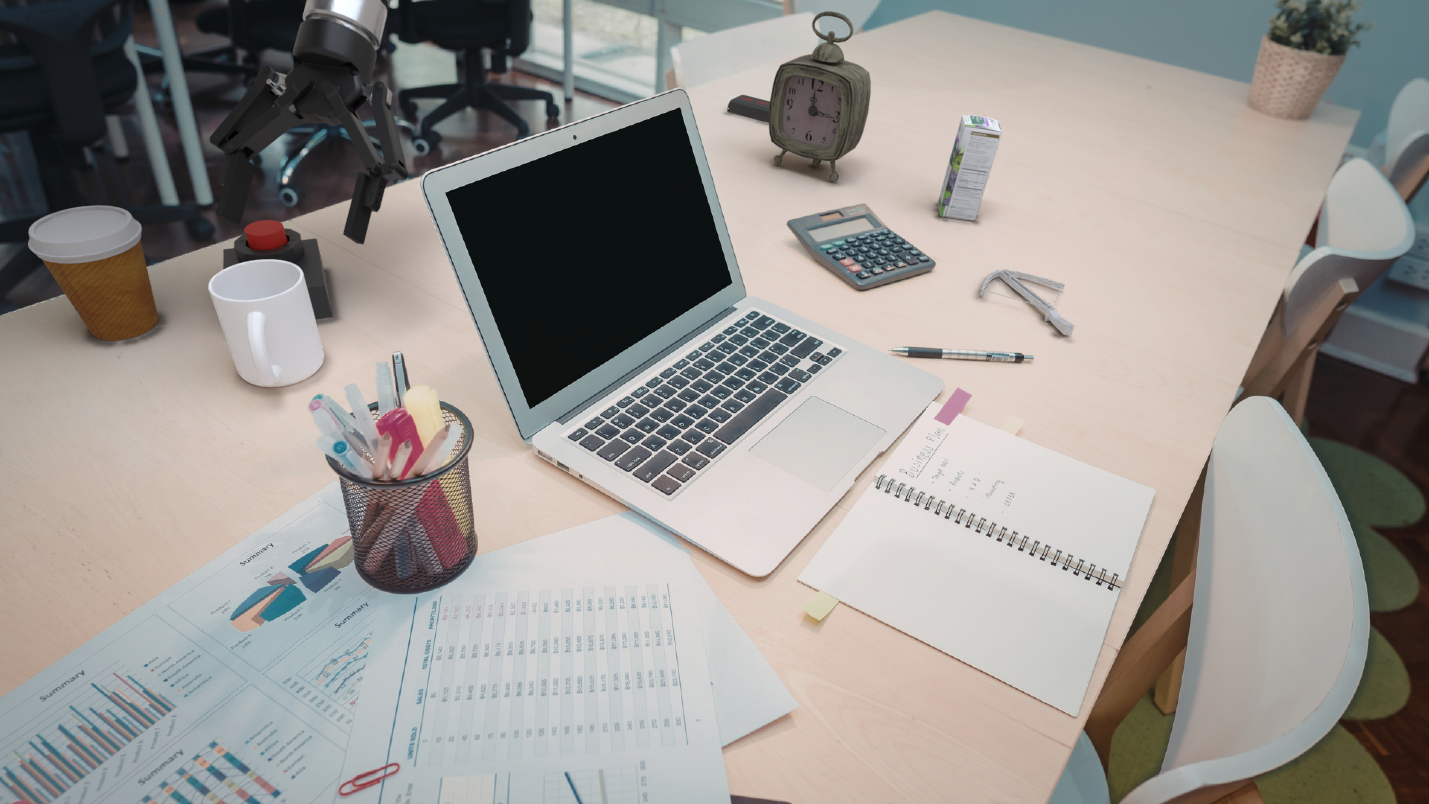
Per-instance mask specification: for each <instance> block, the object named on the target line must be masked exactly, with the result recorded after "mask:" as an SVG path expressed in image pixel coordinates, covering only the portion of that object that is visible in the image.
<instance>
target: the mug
mask: <svg viewBox="0 0 1429 804" xmlns="http://www.w3.org/2000/svg"><path fill="white" fill-rule="evenodd" d="M207 289H208V292H209V295H210V297H211V301H212V304H213V306H214V310H215V312H216V315H217V318H218V320H219V324H220V326H221V329H222V333H223V335H224V338H225V341H226V344H227V347H228V349H229V353H230V356H231V358H232V361H233V364H234V366H235V368H236V371H237V373H238V374H239V376H240V377H241V378H242V379H243V380H244V381H245V382H246V383H248V384H252V385H253V386H257V387H262V388H282V387H287V386H292V385H295V384H297V383H301V382H303V381H305V380H307V379H309V378H310V377H312V376H313V375H314V374H315V373H317V372H318V370H320V368H321V367H322V365H323V363H324V360H325V352H324V351H325V350H324V346H323V343H322V338H321V334H320V331H319V328H318V323H317V320H315V316H314V312H313V308H312V304H311V301H310V297H309V293H308V289H307V285H306V282H305V278H304V274H303V271H302V270H301V269H300V268H299V267H298V266H297V265H295V264H293V263H290V262H287V261H282V260H272V259H265V260H254V261H248V262H243V263H239V264H236V265H233V266H230V267H228V268H226V269H224V270H223V269H222V270H220V271H218V272H217V273H216V274H214V275H213V276H212V277H211V279H210V280H209V282H208V285H207Z"/></svg>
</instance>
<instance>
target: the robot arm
mask: <svg viewBox="0 0 1429 804" xmlns="http://www.w3.org/2000/svg"><path fill="white" fill-rule="evenodd" d="M391 3H392V0H306V1H305V6H304V11H303V13H302V20H303V21H302V22H301V23H300V24H299V26H298V31H297V34H296V37H295V41H294V45H293V50H292V58H293V59H292V60H293V63H292V68H291V69H290V71H289V72H287V74H285V73H281V72H278V71H274V70H273V68H272V67H270V66H269V65H265V64H264V65H262V66H261V67H260V68H259V70H258V73H257V76H256V78H255V80H254V82H253V84H252V86H251V87H250V88H249V89H248V90H247V92H246V93H245V94H244V95H243V96H242V97H241V99H240V100H239V101H238V103H236V105H235V106H234V107H233V108H232V109H231V110H230V112H229V113H228V114H227V115H226V117H224V118H223V119H224V120H222V122H220V124H219V125H218V127H216V129H215V130H213V132H212V134H211V135H210V136H209V143H210V144H211V145H213V146H214V147H216V148H217V149H219V150H220V151H222V152H223V153H224V160H223V163H222V168H221V172H220V175H219V180H218V181H219V185H220V186H222V189H221V190H222V191H221V194H220V197H219V200H218V204H217V208H216V212H215V215H216V216H218V217H220V218H221V219H223V220H226V221H227V222H229V223H231V224H233V225H239V226H241V223H242V219H243V216H244V211H245V209H246V205H247V200H248V196H249V193H250V191H251V190H250V189H251V186H252V182H253V180H254V179H253V178H254V174H255V171H256V167H257V166H256V165H255V164H254V163H252V162H251V160H252V159H254V158H255V157H256V156H257V155H259V154H260V153H261V152H262V151H264V150H265V149H266V148H268V147H269V146H270V145H271V144H272V143H274V142H275V141H277V140H278V139H279V138H280V137H282V136H283V135H284V134H285V133H287V132H288V131H289V130H290V129H291V128H293V127H294V126H301V125H302V124H304V123H305V122H306V121H308V122H309V123H313V124H322V123H325V124H327V125H329V126H333V127H339V125H341V124H342V126H343V128H344V130H345V132H346V133H347V135H348V137H349V139H350V142H351V143H352V145H353V147H354V149H355V150H356V152H357V154H358V156H359V158H360V159H361V161H362V163H363V165H364V171H366V172H367V173H368V174H367V173H365V172H360V171H359V172H358V173H357V176H356V181H355V184H354V189H353V192H352V197H351V200H350V204H349V209H348V213H347V217H346V220H345V224H344V228H343V233H342V235H343V236H345V237H346V238H348V239H349V240H351V241H352V242H354V243H355V244H358V245H365V241H366V237H367V233H368V229H369V225H370V220H371V217H372V213H378V212H379V211H380V209H381V207H382V202H383V199H384V194H385V190H386V186H387V184H388V183H389V182H392V181H395V180H399V181H400V182H401V181H406V180H407V179H408V177H409V172H408V169H407V163H406V160H405V156H404V152H403V147H402V144H401V143H402V142H401V139H400V135H399V131H398V126H397V122H396V119H395V115H394V112H395V106H396V96H395V94H394V93H393V92H392V90H390V89H389V87H388V86H387V85H386V83H384V82H383V81H380V80H378V81H376V82H374V84H373V85H370V83H371V82H372V78H373V75H374V71H375V70H374V69H375V65H376V62H377V58H378V54H377V51H378V50H379V49H380V46H381V43H382V39H383V34H384V31H385V30H384V29H385V27H386V22H387V18H388V13H389V9H390V5H391ZM285 90H286V91H285ZM367 102H368V104H369V105H370V106H371V110H372V115H373V118H374V122H375V127H376V131H377V135H378V140H379V143H380V144H379V145H380V148H381V153H382V156H383V160H384V163H383V161H382V158H381V157H380V155H379V154H378V152H377V149H376V148H375V146H374V144H373V142H372V140H371V138H370V136H369V135H368V133H367V131H366V129H365V125H364V123H363V121H362V120H361V118H360V116H359V114H358V112H357V111H359V109H361V107H363V106H364V105H365V104H366V103H367ZM291 106H293V107H294V110H293V109H292V108H291Z"/></svg>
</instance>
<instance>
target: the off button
mask: <svg viewBox="0 0 1429 804" xmlns="http://www.w3.org/2000/svg"><path fill="white" fill-rule="evenodd" d="M284 226H285V225H284V224H283V223H282V222H281V221H279V220H273V219H264V220H257V221H254V222H251V223H249V224H248V225H246V226H245V227H244V234H246V237H247V241H248V244H249V247H250V248H251V249H254V250H270V249H276V248H278V247H281V246H284V245H285V244H286V243H288V241H287V237H286V234H285V230H284V228H285V227H284Z"/></svg>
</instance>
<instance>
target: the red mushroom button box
mask: <svg viewBox="0 0 1429 804" xmlns="http://www.w3.org/2000/svg"><path fill="white" fill-rule="evenodd" d="M284 230H285V234H286V237H287V241H288V243H286V244H285V245H284V246H281V247H278V248H276V249H270V250H254V249H251V248H250V247H249V244H248V241H247V237H246V234H245V233H242V234H241V235H240V236H239V237H238V238H236V239H235V240H234V241H233V247H231V248H223V249H222V250H223V252H222V253H223V255H222V260H223V261H222V262H223V263H222V267H223V268H222V270H224V269H226V268H228V267H230V266H233V265H236V264H239V263H243V262H248V261H254V260H265V259H272V260H282V261H287V262H290V263H293V264H295V265H297V266H298V267H299V268H300V269H301V270H302V271H303V274H304V278H305V282H306V285H307V289H308V293H309V297H310V301H311V304H312V308H313V312H314V316H315V320H316V321H317V320H323V319H330V318H333V317H334V316H333V310H332V305H331V300H330V299H331V298H330V294H329V289H328V283H327V279H326V278H327V277H326V273H325V268H324V264H323V261H322V260H323V259H322V255H321V250H320V247H319V243H318V239H317V238H316V237H315V238H307V239H302V236H301V233H299V232H298V231H296V230H294V229H292V228H285V227H284Z"/></svg>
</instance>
